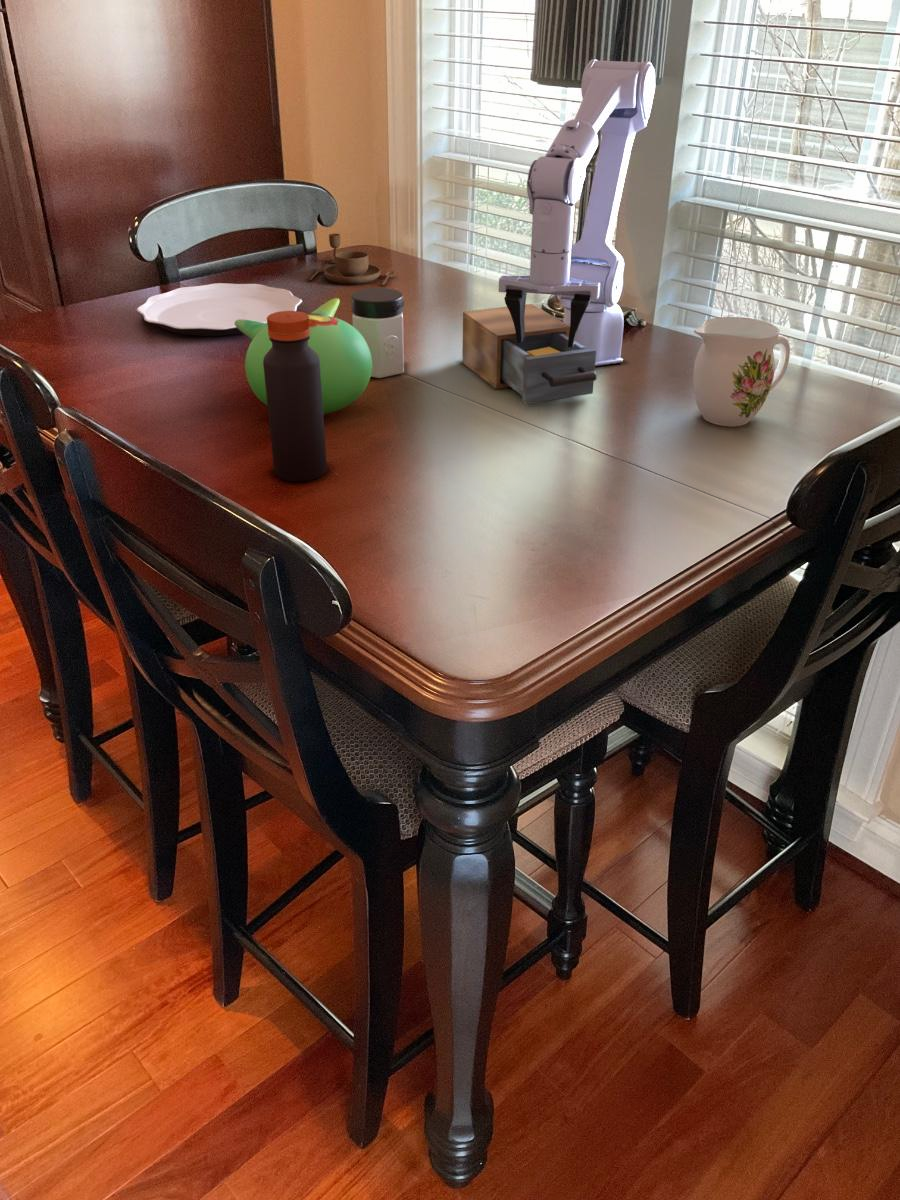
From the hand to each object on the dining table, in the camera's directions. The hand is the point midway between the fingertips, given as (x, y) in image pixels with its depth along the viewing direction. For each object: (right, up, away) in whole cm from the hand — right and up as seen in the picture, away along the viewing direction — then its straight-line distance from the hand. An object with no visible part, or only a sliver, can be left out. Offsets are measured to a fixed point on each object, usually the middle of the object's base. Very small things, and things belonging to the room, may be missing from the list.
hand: (545, 343), depth 146 cm
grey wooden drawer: (0, -6, +3) cm, 7 cm away
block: (0, -5, +3) cm, 6 cm away
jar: (-26, -1, +13) cm, 29 cm away
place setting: (-34, +31, +63) cm, 79 cm away
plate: (-57, +14, +36) cm, 69 cm away
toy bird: (-35, -11, -2) cm, 36 cm away
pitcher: (+27, -12, -4) cm, 29 cm away
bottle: (-33, -22, -20) cm, 45 cm away
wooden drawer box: (-4, -1, +12) cm, 13 cm away
